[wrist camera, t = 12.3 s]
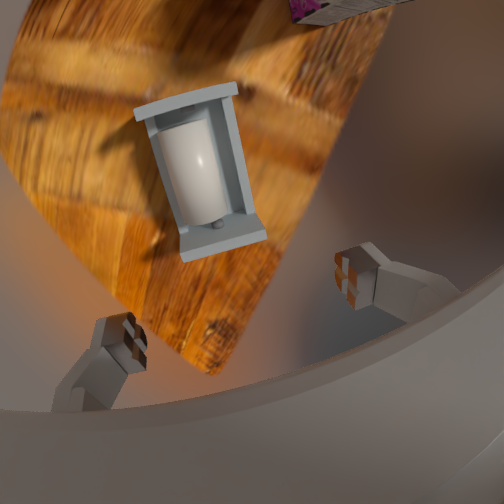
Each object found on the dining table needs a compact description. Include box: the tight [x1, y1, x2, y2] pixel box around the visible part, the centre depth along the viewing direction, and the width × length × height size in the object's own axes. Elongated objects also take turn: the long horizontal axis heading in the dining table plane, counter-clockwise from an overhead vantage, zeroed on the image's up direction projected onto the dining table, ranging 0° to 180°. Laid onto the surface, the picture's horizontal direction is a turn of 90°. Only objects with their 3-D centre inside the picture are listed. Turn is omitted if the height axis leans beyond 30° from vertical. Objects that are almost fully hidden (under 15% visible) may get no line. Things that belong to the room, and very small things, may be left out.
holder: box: [133, 81, 267, 263], centre depth 27 cm, size 16×9×7 cm, turn 11°
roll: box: [157, 118, 228, 226], centre depth 27 cm, size 10×5×5 cm, turn 11°
